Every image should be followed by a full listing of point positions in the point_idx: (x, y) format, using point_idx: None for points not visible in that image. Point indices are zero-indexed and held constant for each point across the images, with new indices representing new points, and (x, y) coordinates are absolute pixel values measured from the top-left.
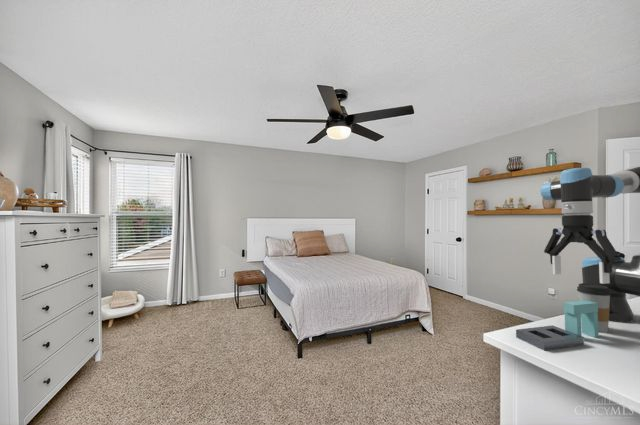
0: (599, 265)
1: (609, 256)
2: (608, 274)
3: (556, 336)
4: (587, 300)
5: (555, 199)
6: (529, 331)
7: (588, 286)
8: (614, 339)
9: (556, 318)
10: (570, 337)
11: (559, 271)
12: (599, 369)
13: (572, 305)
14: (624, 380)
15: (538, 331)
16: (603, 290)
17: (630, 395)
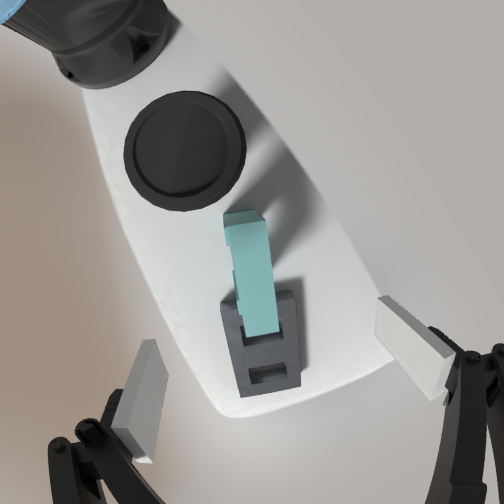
0: (421, 387)
1: (487, 400)
2: (410, 319)
3: (283, 351)
4: (231, 229)
5: None
6: (250, 380)
7: (176, 171)
8: (270, 181)
9: (118, 201)
10: (292, 328)
11: (155, 359)
12: (362, 339)
13: (274, 330)
14: None
15: (254, 367)
16: (240, 155)
17: None
